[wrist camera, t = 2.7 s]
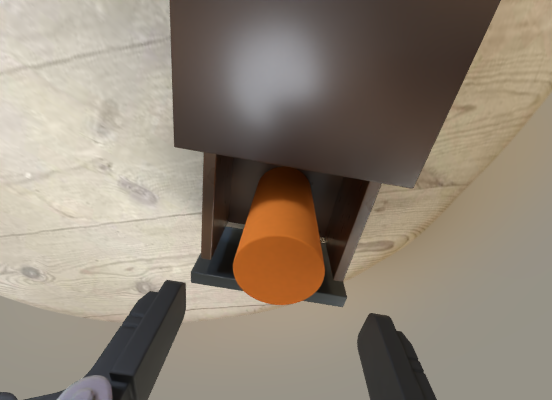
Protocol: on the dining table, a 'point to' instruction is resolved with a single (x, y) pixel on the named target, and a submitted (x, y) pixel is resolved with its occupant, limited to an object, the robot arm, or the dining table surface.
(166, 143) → the dining table surface
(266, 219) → the roller
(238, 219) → the drawer
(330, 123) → the cabinet
